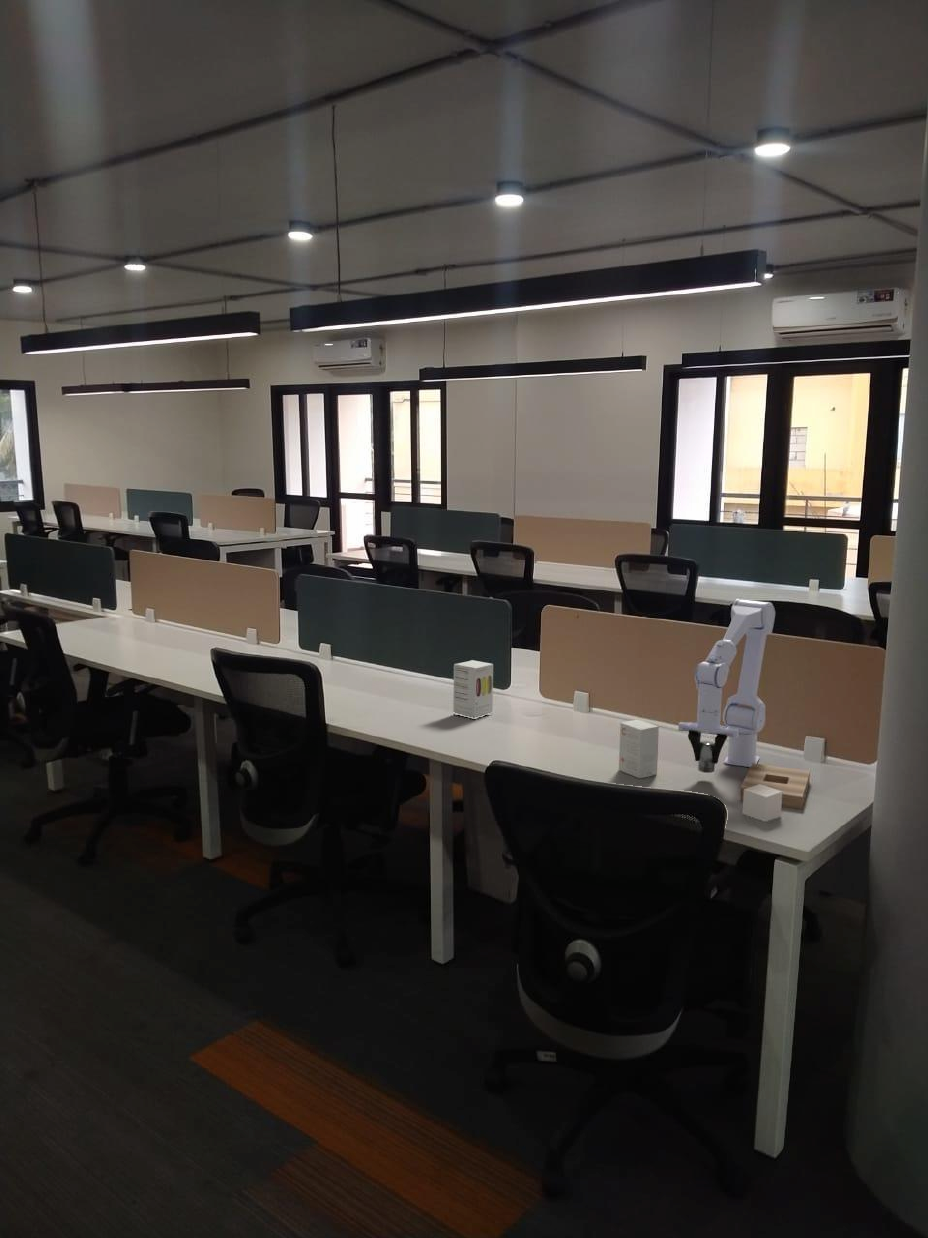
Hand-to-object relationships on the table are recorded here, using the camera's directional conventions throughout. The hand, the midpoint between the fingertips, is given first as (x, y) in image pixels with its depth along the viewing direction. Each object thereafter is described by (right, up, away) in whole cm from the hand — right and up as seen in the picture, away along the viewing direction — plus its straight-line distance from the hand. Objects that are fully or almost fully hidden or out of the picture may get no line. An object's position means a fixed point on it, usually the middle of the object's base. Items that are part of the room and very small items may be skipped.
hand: (706, 761), depth 226 cm
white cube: (+7, -9, -22) cm, 25 cm away
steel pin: (0, -2, 0) cm, 2 cm away
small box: (-16, -4, +6) cm, 18 cm away
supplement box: (-59, +5, +60) cm, 84 cm away
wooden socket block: (+15, -6, -6) cm, 18 cm away
